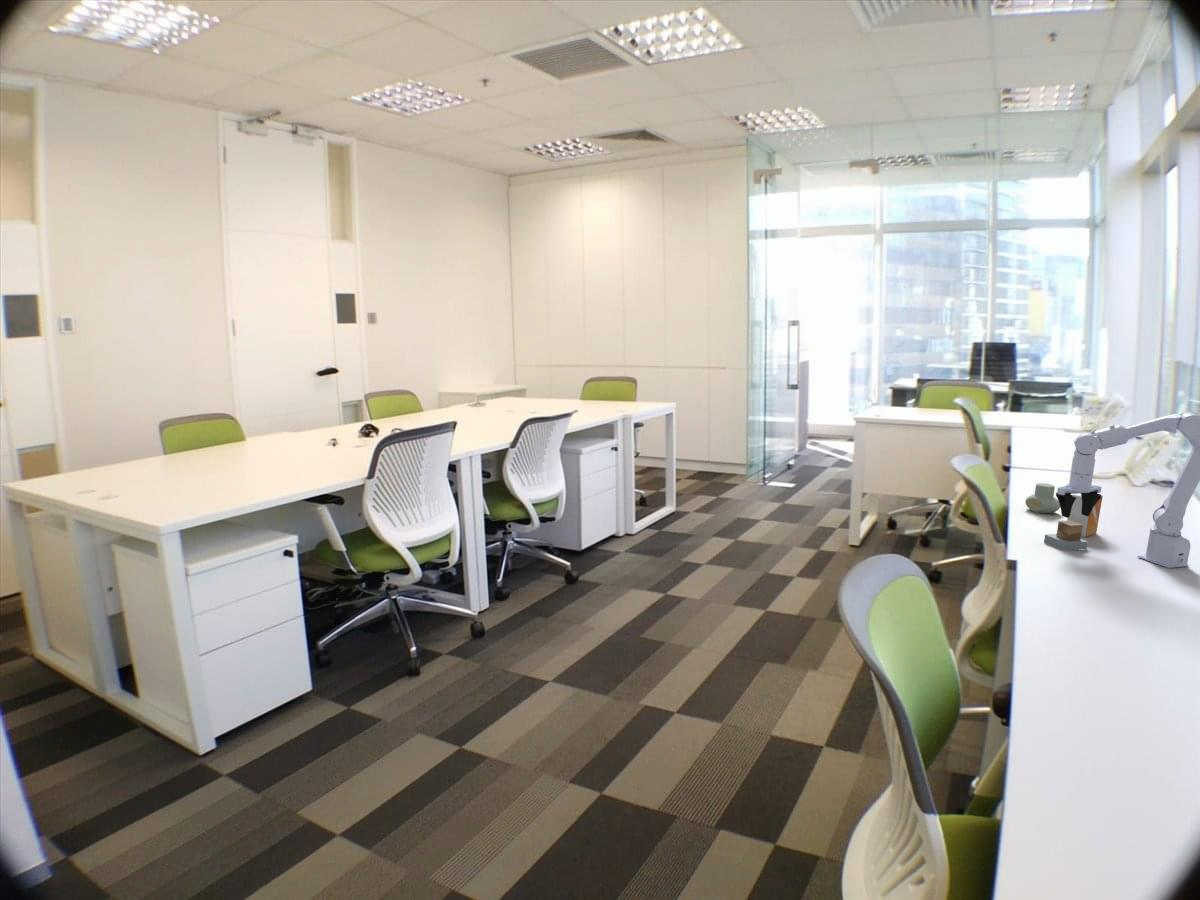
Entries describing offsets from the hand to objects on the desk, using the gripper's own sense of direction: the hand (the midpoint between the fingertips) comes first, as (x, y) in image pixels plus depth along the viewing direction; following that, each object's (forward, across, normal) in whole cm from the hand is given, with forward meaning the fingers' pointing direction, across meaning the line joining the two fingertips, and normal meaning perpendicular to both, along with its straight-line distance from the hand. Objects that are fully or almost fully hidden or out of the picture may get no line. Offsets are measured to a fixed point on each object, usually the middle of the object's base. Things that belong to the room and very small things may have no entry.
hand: (1075, 516), depth 224 cm
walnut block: (+7, +1, -1) cm, 7 cm away
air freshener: (+10, -24, -35) cm, 43 cm away
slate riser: (+10, +1, -1) cm, 10 cm away
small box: (+10, -16, -11) cm, 21 cm away
